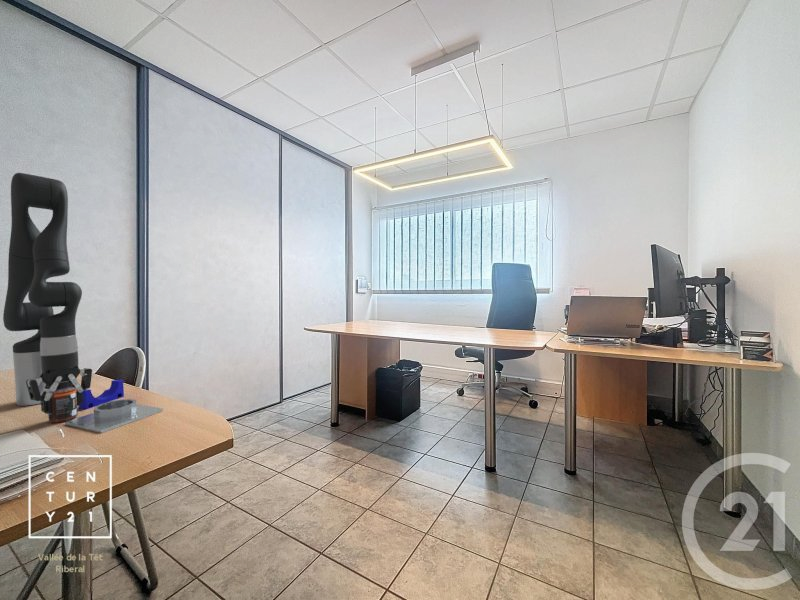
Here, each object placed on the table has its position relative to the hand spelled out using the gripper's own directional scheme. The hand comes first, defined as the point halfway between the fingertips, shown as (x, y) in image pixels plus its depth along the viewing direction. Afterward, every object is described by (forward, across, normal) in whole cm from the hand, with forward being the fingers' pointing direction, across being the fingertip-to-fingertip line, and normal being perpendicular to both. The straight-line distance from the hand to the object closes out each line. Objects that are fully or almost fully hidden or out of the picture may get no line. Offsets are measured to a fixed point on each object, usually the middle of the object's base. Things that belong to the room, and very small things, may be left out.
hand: (63, 408), depth 97 cm
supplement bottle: (+3, 0, 0) cm, 3 cm away
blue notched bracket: (+4, -12, -7) cm, 15 cm away
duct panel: (+3, -6, +13) cm, 15 cm away
